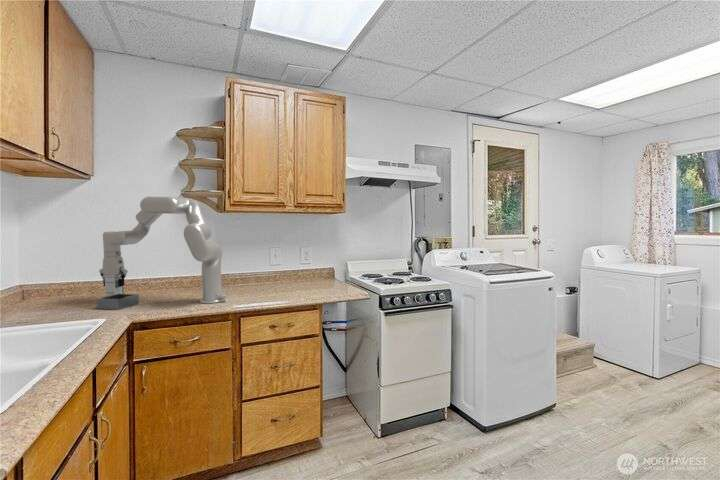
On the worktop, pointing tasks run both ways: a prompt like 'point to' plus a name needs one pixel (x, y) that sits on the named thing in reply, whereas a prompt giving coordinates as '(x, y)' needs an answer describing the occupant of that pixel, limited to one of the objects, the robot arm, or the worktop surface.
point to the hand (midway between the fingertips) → (114, 285)
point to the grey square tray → (117, 301)
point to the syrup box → (112, 285)
